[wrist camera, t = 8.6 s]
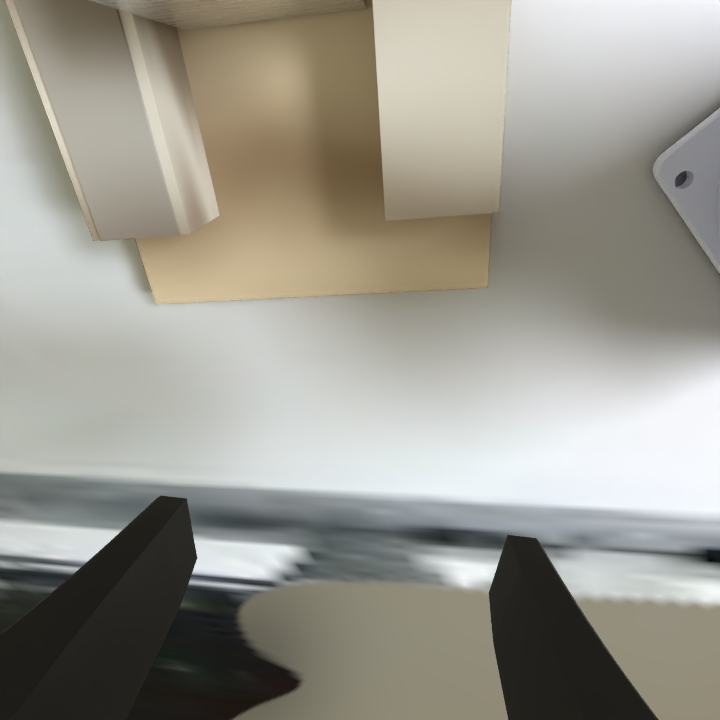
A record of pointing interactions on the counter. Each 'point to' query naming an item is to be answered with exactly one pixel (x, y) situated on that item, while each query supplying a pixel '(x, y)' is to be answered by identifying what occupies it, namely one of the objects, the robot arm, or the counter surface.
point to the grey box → (227, 10)
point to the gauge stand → (282, 143)
